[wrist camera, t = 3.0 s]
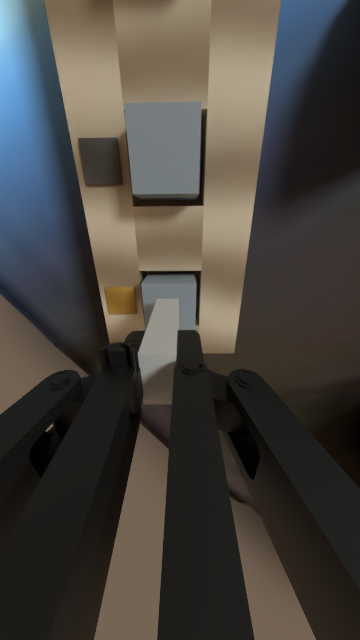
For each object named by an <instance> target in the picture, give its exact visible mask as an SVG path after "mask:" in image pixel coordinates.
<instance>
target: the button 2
mask: <svg viewBox="0 0 360 640" xmlns="http://www.w3.org/2000/svg"><path fill="white" fill-rule="evenodd" d="M196 284H197V283H196V279H195V275H194V273H148V275H147V276H146V278H145V279H144V280H143V282H142V283H141V286H142V297H143V307H144V318H145V328H146V329H147V326H148V323H149V320H150V317H151V314H152V312H153V309H154V306H155V303H156V300H157V299H175V298H179V330H195V320H196Z"/></svg>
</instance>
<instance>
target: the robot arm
mask: <svg viewBox="0 0 360 640" xmlns="http://www.w3.org/2000/svg"><path fill="white" fill-rule="evenodd" d="M98 352H99V356H100V360H101V365H102V370H101V372H100V374H97V375H93V376H88V377H84V378H80V376H79V374H78V372H76V371H73V370H64V371H59V372H57V373H54V374H52V375H50V376H49V377H47V378H46V379H44V380H43V381H42V382H40V383H39V384H38V385H37V386H35V387H34V388H33V389H32V390H31V391H29V392H28V393H27V394H26V395H24V396H23V397H22V398H21V399H19V400H18V401H17V402H16V403H15V404H13V405H12V406H11V407H9V408H8V409H7V410H6V411H4V412H3V413H2V414H1V415H0V640H94V636H95V632H96V627H97V622H98V618H99V613H100V608H101V603H102V598H103V594H104V589H105V585H106V580H107V575H108V571H109V565H110V561H111V556H112V552H113V547H114V542H115V538H116V533H117V528H118V524H119V519H120V514H121V509H122V505H123V500H124V495H125V491H126V486H127V481H128V476H129V471H130V467H131V462H132V458H133V453H134V448H135V443H136V439H137V434H138V429H139V425H140V420H141V415H142V410H141V402H142V398H143V402H144V404H172V410H171V427H170V443H169V459H168V475H167V491H166V507H165V523H164V540H163V556H162V572H161V588H160V604H159V620H158V621H159V622H158V637H157V640H254V634H253V628H252V623H251V617H250V611H249V605H248V599H247V594H246V588H245V582H244V576H243V571H242V565H241V559H240V553H239V547H238V542H237V536H236V530H235V524H234V519H233V513H232V507H231V501H230V495H229V490H228V484H227V478H226V472H225V467H224V461H223V455H222V449H221V443H220V438H219V432H218V429H220V430H222V431H223V434H224V436H225V439H226V441H227V443H228V445H229V448H230V450H231V452H232V454H233V456H234V459H235V461H236V463H237V465H238V467H239V470H240V472H241V474H242V476H243V479H244V481H245V483H246V485H247V487H248V490H249V492H250V494H251V496H252V498H253V501H254V503H255V505H256V507H257V510H258V512H259V514H260V516H261V518H262V521H263V523H264V525H265V527H266V529H267V532H268V534H269V536H270V538H271V541H272V543H273V545H274V547H275V549H276V552H277V554H278V556H279V558H280V560H281V563H282V565H283V567H284V569H285V572H286V574H287V576H288V578H289V580H290V583H291V585H292V587H293V589H294V591H295V594H296V596H297V598H298V600H299V603H300V605H301V607H302V609H303V611H304V614H305V616H306V618H307V620H308V622H309V625H310V627H311V629H312V631H313V634H314V636H315V638H316V640H360V489H359V487H358V486H357V485H356V484H355V483H354V482H353V481H352V479H351V478H350V477H349V476H348V475H347V474H346V473H345V471H344V470H343V469H342V468H341V467H340V466H339V465H338V464H337V462H336V461H335V460H334V459H333V458H332V457H331V456H330V454H329V453H328V452H327V451H326V450H325V449H324V448H323V446H322V445H321V444H320V443H319V442H318V441H317V440H316V438H315V437H314V436H313V435H312V434H311V433H310V432H309V430H308V429H307V428H306V427H305V426H304V425H303V424H302V422H301V421H300V420H299V419H298V418H297V417H296V416H295V414H294V413H293V412H292V411H291V410H290V409H289V408H288V407H287V405H286V404H285V403H284V402H283V401H282V400H281V399H280V397H279V396H278V395H277V394H276V393H275V392H274V391H273V389H272V388H271V387H270V386H269V385H268V384H267V383H266V381H265V380H264V379H263V378H262V377H261V376H259V375H258V374H257V373H255V372H253V371H250V370H246V369H237V370H234V371H232V372H231V373H230V374H229V375H228V376H224V375H220V374H216V373H214V372H212V371H210V370H209V369H208V368H207V366H206V364H205V363H204V358H203V352H202V346H201V339H200V334H199V333H198V332H197V331H196V330H179V298H175V299H157V300H156V303H155V306H154V309H153V312H152V314H151V317H150V320H149V323H148V326H147V329H146V331H132V332H131V333H130V334H128V335H127V337H126V339H125V341H124V342H116V343H112V344H108V345H106V346H104V347H102V348H101V349H100V350H99V351H98ZM51 424H53V427H52V428H51V429H50V430H49V431H48V432H46V431H45V430H46V429H47V428H48V427H49V426H50V425H51Z"/></svg>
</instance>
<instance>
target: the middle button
mask: <svg viewBox="0 0 360 640" xmlns="http://www.w3.org/2000/svg"><path fill="white" fill-rule="evenodd" d="M201 107H202V101H197V102H143V103H124V109H125V119H126V129H127V140H128V150H129V161H130V171H131V182H132V192H133V195H135V196H136V197H138V198H140V199H141V200H143V201H154V200H196V198H197V196H198V195H199V178H200V142H201Z"/></svg>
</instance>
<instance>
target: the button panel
mask: <svg viewBox="0 0 360 640" xmlns="http://www.w3.org/2000/svg"><path fill="white" fill-rule="evenodd" d="M44 3H45V8H46V13H47V19H48V24H49V29H50V34H51V39H52V45H53V50H54V55H55V60H56V65H57V71H58V76H59V81H60V86H61V92H62V97H63V102H64V107H65V112H66V118H67V123H68V128H69V133H70V138H71V144H72V149H73V154H74V159H75V164H76V170H77V175H78V180H79V185H80V191H81V196H82V201H83V206H84V211H85V217H86V222H87V227H88V232H89V237H90V243H91V248H92V253H93V258H94V264H95V269H96V274H97V279H98V284H99V290H100V295H101V300H102V305H103V310H104V316H105V321H106V326H107V331H108V336H109V342H110V344H112V343H116V342H124V341H125V339H126V337H127V335H128V334H130V333H131V332H132V331H146V328H145V318H144V307H143V297H142V286H141V283H142V282H143V280H144V279H145V278H146V276H147V275H148V273H194V275H195V279H196V283H197V284H196V320H195V330H196V331H197V332H198V333H199V334H200V339H201V346H202V352H203V353H234V351H235V343H236V335H237V328H238V320H239V313H240V305H241V298H242V290H243V283H244V275H245V268H246V260H247V253H248V245H249V238H250V230H251V223H252V215H253V208H254V200H255V193H256V185H257V178H258V170H259V163H260V155H261V148H262V140H263V133H264V125H265V118H266V110H267V103H268V95H269V88H270V80H271V73H272V65H273V58H274V50H275V43H276V35H277V28H278V20H279V13H280V5H281V0H44ZM197 101H202V107H201V142H200V178H199V195H198V196H197V198H196V200H154V201H143V200H141V199H140V198H138V197H136V196H135V195H133V192H132V182H131V171H130V161H129V150H128V140H127V129H126V119H125V109H124V103H143V102H197Z"/></svg>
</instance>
